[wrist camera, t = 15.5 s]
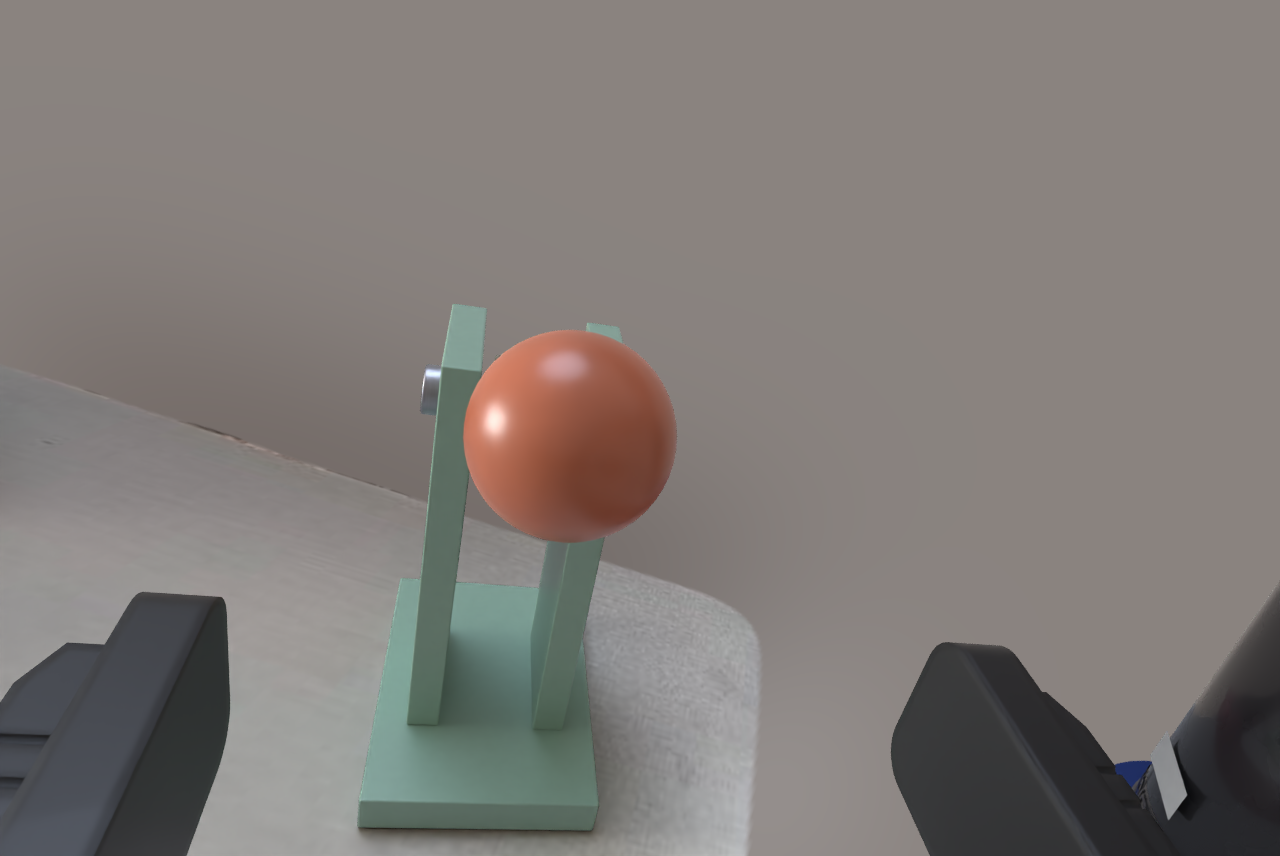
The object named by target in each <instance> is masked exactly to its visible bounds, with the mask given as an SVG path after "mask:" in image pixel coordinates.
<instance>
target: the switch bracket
mask: <svg viewBox="0 0 1280 856" xmlns="http://www.w3.org/2000/svg"><path fill="white" fill-rule="evenodd" d="M486 316H487V309H486V308H480V307H472V306H466V305H458V304H453V306H452V311H451V316H450V322H449V327H448V333H447V338H446V344H445V350H444V355H443V360H442V365H441V366H439V365H431V364H428V365H426V367H425V371H424V378H423V386H422V394H421V407H420V411H421V413H422V414H428V415H436V425H435V435H434V445H433V455H432V465H431V477H430V486H429V496H428V506H427V516H426V526H425V536H424V547H423V557H422V567H421V577H420V579H408V578H401V579H400V583H399V589H398V594H397V599H396V605H395V610H394V615H393V621H392V626H391V631H390V637H389V642H388V648H387V653H386V658H385V664H384V669H383V674H382V680H381V685H380V690H379V696H378V701H377V706H376V712H375V717H374V722H373V728H372V733H371V738H370V744H369V749H368V755H367V760H366V765H365V771H364V776H363V781H362V787H361V792H360V797H359V807H358V822H357V826H358V827H367V828H440V829H514V830H587V831H591V830H593V826H594V823H595V819H596V815H597V811H598V807H599V800H598V790H597V779H596V769H595V759H594V749H593V738H592V728H591V718H590V708H589V697H588V687H587V677H586V666H585V656H584V646H583V633H584V629H585V624H586V620H587V615H588V611H589V606H590V601H591V597H592V592H593V588H594V583H595V579H596V574H597V570H598V565H599V561H600V556H601V551H602V547H603V542H604V538H605V537H603V538H599V539H596V540H592V541H585V542H578V543H563V542H554V541H547V547H546V552H545V558H544V563H543V569H542V574H541V580H540V585H539V588H531V587H517V586H504V585H490V584H476V583H463V582H456V577H457V569H458V561H459V553H460V545H461V537H462V529H463V520H464V512H465V504H466V496H467V488H468V480H469V472H470V471H469V469H468V466H467V461H466V457H465V452H464V441H463V434H464V421H465V416H466V410H467V407H468V404H469V401H470V398H471V396H472V394H473V391H474V389H475V387H476V385H477V383H478V382H479V380H480V379H481V374H482V363H483V352H484V340H485V339H484V338H485V326H486ZM586 331H588V332H593V333H598V334H601V335H604V336H607V337H610V338H612V339H614V340H616V341H618V342H620V343H622V344H623V340H622V337H621V333H620V330H619V327H615V326H608V325H601V324H594V323H587V327H586Z"/></svg>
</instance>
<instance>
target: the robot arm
mask: <svg viewBox="0 0 1280 856" xmlns="http://www.w3.org/2000/svg"><path fill="white" fill-rule="evenodd" d="M229 715H230V687H229V661H228V635H227V612H226V605H225V601H224V599H223V598H222V597H213V596H197V595H182V594H167V593H151V592H141V593H139V594H137V595H136V596H135V597H134V598H133V599H132V601H131V602H130V603H129V605H128V607H127V608H126V610H125V612H124V613H123V615H122V617H121V618H120V620H119V622H118V623H117V625H116V627H115V628H114V630H113V632H112V633H111V635H110V637H109V638H108V640H107V642H106V643H105V645H102V644H83V643H66V644H65V645H63V646H62V647H61V648H59V649H58V650H57V651H55V652H54V653H53V654H51V655H50V656H49V657H47V658H46V659H45V660H44V661H42V662H41V663H40V664H38V665H37V666H36V667H34V668H33V669H32V670H30V671H29V672H28V673H26V674H25V675H24V676H22V677H21V678H20V679H18V680H17V681H16V682H14V683H13V685H12V686H11V688H10V689H9V691H8V692H7V694H6V695H5V696H4V698H3V699H2V701H1V702H0V856H186V855H187V853H188V850H189V847H190V844H191V842H192V839H193V836H194V834H195V831H196V828H197V825H198V823H199V820H200V817H201V814H202V812H203V809H204V806H205V804H206V801H207V798H208V795H209V793H210V790H211V787H212V784H213V782H214V779H215V776H216V774H217V771H218V768H219V765H220V762H221V758H222V754H223V750H224V746H225V742H226V737H227V731H228V724H229ZM891 760H892V767H893V772H894V776H895V779H896V782H897V785H898V787H899V789H900V791H901V794H902V796H903V798H904V800H905V802H906V804H907V807H908V809H909V811H910V813H911V815H912V817H913V820H914V822H915V824H916V826H917V828H918V830H919V833H920V835H921V837H922V839H923V841H924V843H925V846H926V848H927V850H928V852H929V854H930V856H1280V581H1279V583H1278V584H1277V585H1276V587H1275V588H1274V590H1273V591H1272V592H1271V594H1270V595H1269V597H1268V598H1267V600H1266V601H1265V603H1264V604H1263V605H1262V607H1261V608H1260V610H1259V611H1258V613H1257V614H1256V615H1255V617H1254V618H1253V620H1252V621H1251V623H1250V624H1249V626H1248V627H1247V629H1246V630H1245V631H1244V633H1243V634H1242V636H1241V637H1240V638H1239V640H1238V641H1237V643H1236V644H1235V646H1234V647H1233V648H1232V650H1231V651H1230V653H1229V654H1228V656H1227V657H1226V659H1225V660H1224V661H1223V663H1222V665H1221V666H1220V667H1219V669H1218V670H1217V671H1216V673H1215V674H1214V676H1213V677H1212V679H1211V680H1210V682H1209V683H1208V684H1207V686H1206V687H1205V689H1204V690H1203V692H1202V693H1201V695H1200V696H1199V697H1198V699H1197V700H1196V702H1195V703H1194V704H1193V706H1192V707H1191V709H1190V710H1189V712H1188V713H1187V714H1186V716H1185V717H1184V719H1183V720H1182V722H1181V723H1180V725H1179V726H1178V727H1177V729H1176V731H1175V732H1174V733H1173V735H1172V736H1171V737H1170V738H1169V735H1168V732H1166V734H1165V735H1164V736H1163V737H1162V739H1161V740H1160V742H1159V743H1158V745H1157V746H1156V748H1155V749H1154V751H1153V752H1152V754H1151V760H1152V764H1151V765H1149V766H1148V768H1147V769H1146V771H1145V772H1144V774H1143V775H1142V777H1141V778H1140V779H1139V780H1138V781H1136V783H1135V784H1134V785H1133V787H1132V788H1131V787H1130V786H1129V784H1128V783H1127V782H1126V780H1125V779H1124V777H1123V776H1122V775H1117V774H1116V772H1115V765H1114V764H1113V763H1112V761H1111V760H1110V759H1109V757H1108V756H1107V754H1106V753H1105V752H1104V750H1103V749H1102V748H1101V746H1100V745H1099V744H1098V742H1097V741H1096V740H1095V738H1094V737H1093V735H1092V734H1091V733H1090V731H1089V730H1088V729H1087V728H1086V726H1084V725H1083V724H1082V723H1081V722H1080V721H1079V720H1077V719H1076V718H1075V717H1074V716H1073V715H1072V714H1071V713H1070V712H1068V711H1067V710H1066V709H1065V708H1064V707H1063V706H1061V705H1060V704H1059V703H1058V702H1057V701H1056V700H1055V699H1053V698H1052V697H1051V696H1050V695H1049V694H1048V693H1046V692H1042V691H1041V690H1040V689H1039V687H1038V686H1037V684H1036V683H1035V682H1034V680H1033V679H1032V677H1031V676H1030V675H1029V673H1028V672H1027V670H1026V669H1025V668H1024V666H1023V665H1022V663H1021V662H1020V661H1019V659H1018V658H1017V657H1016V655H1015V654H1014V653H1013V652H1011V651H1010V650H1009V649H1007V648H1005V647H1003V646H996V645H980V644H965V643H950V642H945V643H941V644H940V645H938V646H936V647H935V649H934V650H933V651H932V653H931V654H930V656H929V658H928V661H927V662H926V665H925V667H924V669H923V671H922V673H921V675H920V677H919V679H918V681H917V683H916V686H915V688H914V690H913V692H912V694H911V696H910V698H909V700H908V702H907V704H906V706H905V708H904V711H903V713H902V715H901V717H900V719H899V721H898V723H897V725H896V727H895V730H894V733H893V737H892V744H891Z"/></svg>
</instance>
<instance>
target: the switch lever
mask: <svg viewBox="0 0 1280 856" xmlns="http://www.w3.org/2000/svg"><path fill="white" fill-rule="evenodd" d="M463 441H464V452H465V457H466V461H467V466H468V469H469V471H470V474H471V476H472V479H473V482H474V483H475V485H476V487H477V489H478V491H479V493H480V494H481V496H482V497H483V498H484V500H485V501H486V502H487V504H488V505H489V506H490V507H491V508H492V509H493V510H494V511H495V512H496V513H497V514H498V515H499V516H500V517H501V518H503V519H504V520H505V521H506V522H508V523H509V524H510V525H512V526H513V527H515V528H517V529H519V530H521V531H522V532H524V533H526V534H529V535H532V536H534V537H537V538H540V539H543V540H548V541H554V542H563V543H578V542H585V541H592V540H596V539H599V538H603V537H606V536H609V535H611V534H613V533H615V532H617V531H620V530H622V529H623V528H625V527H627V526H628V525H629V524H631V523H633V522H634V521H635V520H637V519H638V518H639V517H640V516H641V515H642V514H644V513H645V512H646V510H647V509H648V508H649V507H650V506H651V504H653V503H654V501H655V500H656V499H657V497H658V496H659V494H660V493H661V491H662V490H663V488H664V485H665V484H666V482H667V480H668V478H669V475H670V472H671V469H672V466H673V463H674V458H675V453H676V443H677V430H676V420H675V415H674V410H673V407H672V403H671V401H670V398H669V395H668V393H667V391H666V389H665V387H664V385H663V383H662V381H661V380H660V378H659V377H658V375H657V374H656V372H655V371H654V370H653V369H652V368H651V366H649V364H648V363H647V362H646V361H645V360H644V359H643V358H642V357H640V356H639V355H638V354H637V353H636V352H635V351H633V350H632V349H630V348H629V347H627V346H626V345H624V344H622V343H620V342H618V341H616V340H614V339H612V338H610V337H607V336H604V335H601V334H598V333H593V332H588V331H580V330H561V331H552V332H548V333H543V334H540V335H537V336H534V337H531V338H528V339H526V340H524V341H522V342H520V343H518V344H516V345H515V346H514V347H512V348H510V349H509V350H507V351H506V352H504V353H503V354H502V355H496V356H495V362H493V364H492V365H491V366H490V367H489V368H488V369H487V370H486V372H485V373H484V374H483V376H482V377H481V379H480V380H479V382H478V383H477V385H476V387H475V389H474V391H473V394H472V396H471V398H470V401H469V404H468V407H467V410H466V416H465V421H464V434H463Z"/></svg>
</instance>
